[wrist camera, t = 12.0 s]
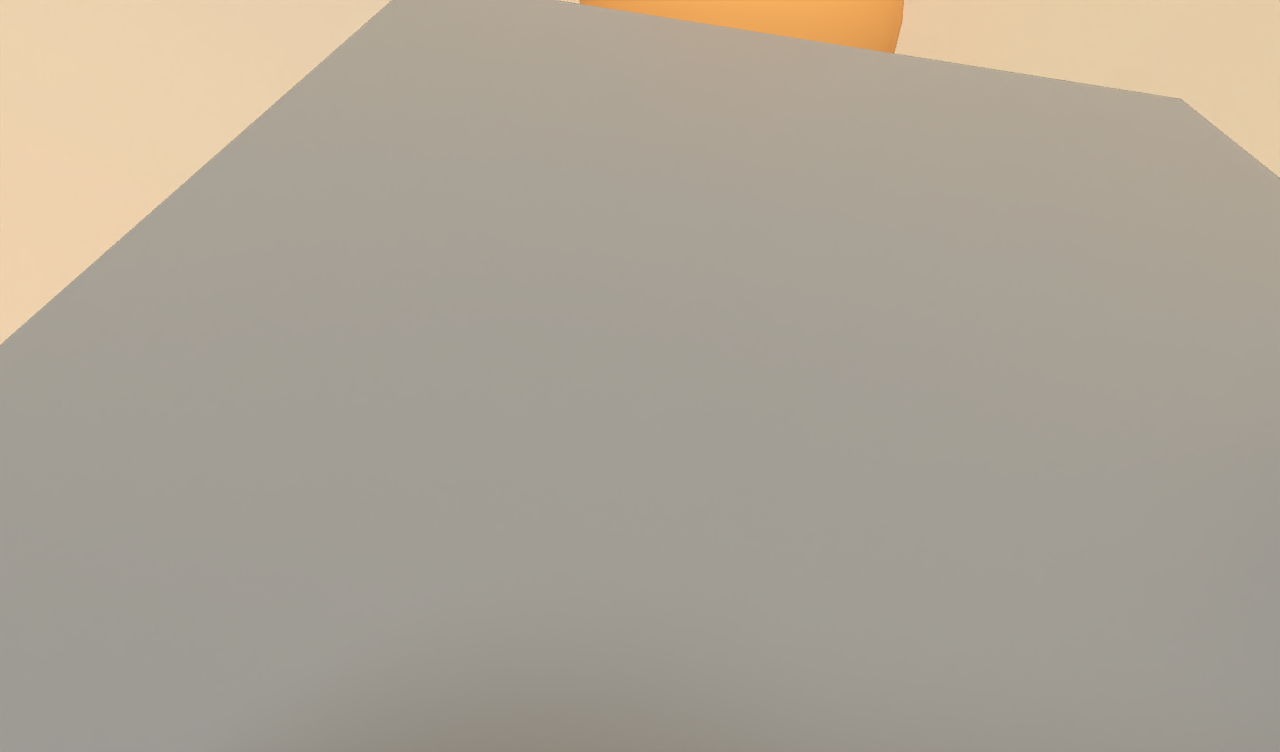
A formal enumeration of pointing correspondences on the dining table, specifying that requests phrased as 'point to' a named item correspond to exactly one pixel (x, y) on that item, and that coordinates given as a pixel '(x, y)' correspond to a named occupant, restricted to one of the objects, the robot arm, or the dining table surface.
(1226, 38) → the dining table surface
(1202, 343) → the grey faceted block
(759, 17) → the ball
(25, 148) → the dining table surface
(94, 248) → the dining table surface
